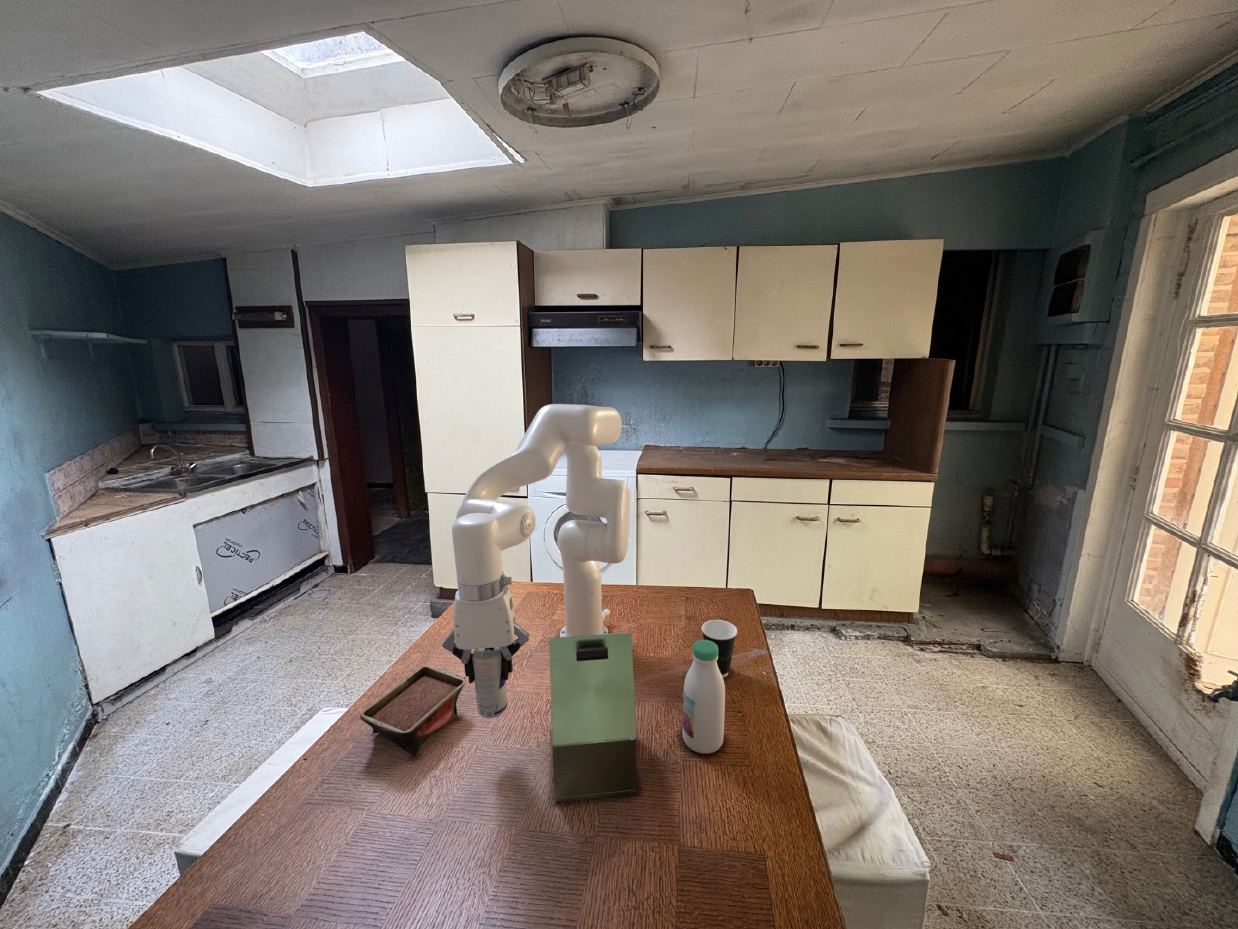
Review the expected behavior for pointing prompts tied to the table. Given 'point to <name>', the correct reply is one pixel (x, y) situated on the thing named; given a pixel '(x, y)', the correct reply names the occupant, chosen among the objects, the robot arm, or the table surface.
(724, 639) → the dixie cup
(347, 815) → the table surface
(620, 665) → the bin lid
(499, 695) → the energy drink
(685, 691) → the milk bottle
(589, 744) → the bin
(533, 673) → the table surface
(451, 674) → the rectangular footed planter
